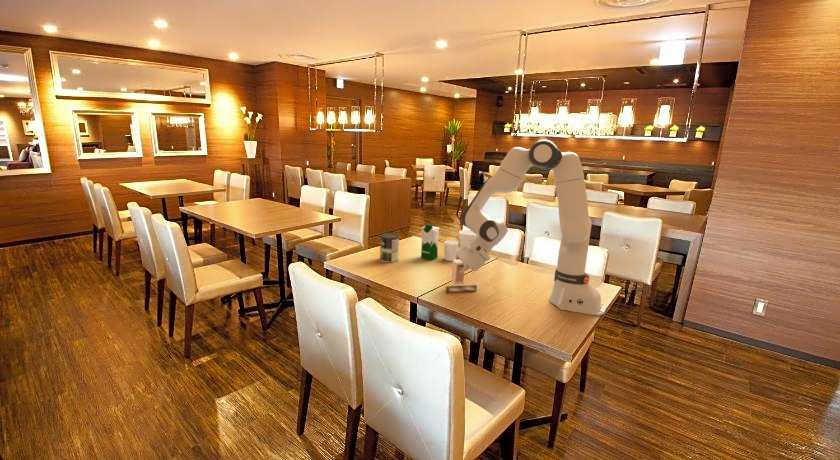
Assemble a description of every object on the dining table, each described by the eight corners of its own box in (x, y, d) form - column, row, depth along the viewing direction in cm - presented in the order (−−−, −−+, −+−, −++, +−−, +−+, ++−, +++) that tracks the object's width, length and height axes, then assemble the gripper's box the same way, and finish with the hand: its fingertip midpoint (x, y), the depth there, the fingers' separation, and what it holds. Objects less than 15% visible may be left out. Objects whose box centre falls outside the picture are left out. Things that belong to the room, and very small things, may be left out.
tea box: (451, 280, 180) (452, 259, 177) (459, 279, 181) (461, 259, 178) (455, 284, 175) (456, 263, 173) (463, 283, 176) (464, 262, 174)
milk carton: (418, 258, 219) (419, 224, 215) (426, 254, 227) (428, 221, 222) (431, 261, 215) (433, 226, 210) (439, 257, 222) (441, 223, 218)
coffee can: (382, 263, 208) (382, 238, 205) (378, 257, 218) (378, 233, 214) (400, 262, 211) (401, 237, 208) (396, 256, 221) (396, 232, 218)
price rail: (475, 289, 176) (475, 284, 176) (476, 291, 175) (476, 286, 174) (446, 291, 173) (446, 286, 172) (447, 292, 171) (447, 287, 171)
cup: (465, 258, 222) (466, 235, 219) (453, 252, 232) (454, 230, 229) (482, 256, 228) (483, 233, 225) (470, 250, 238) (471, 229, 235)
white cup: (456, 262, 215) (457, 244, 213) (442, 260, 216) (443, 243, 214) (458, 258, 222) (459, 241, 220) (444, 256, 224) (445, 240, 222)
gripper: (466, 238, 185) (446, 258, 185) (483, 250, 166) (460, 273, 166) (474, 247, 187) (454, 266, 187) (491, 260, 168) (469, 282, 168)
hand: (457, 269), depth 176 cm, fingers closed on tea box, 5 cm apart
